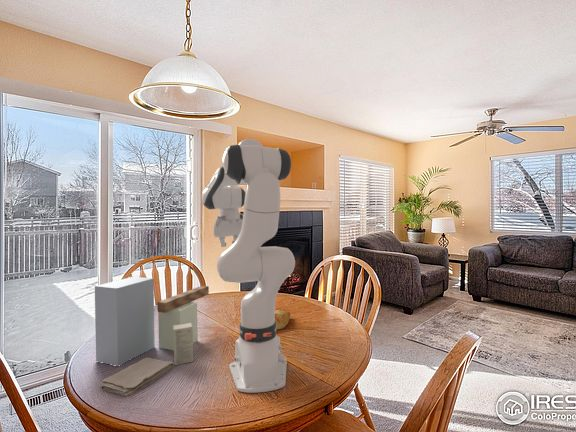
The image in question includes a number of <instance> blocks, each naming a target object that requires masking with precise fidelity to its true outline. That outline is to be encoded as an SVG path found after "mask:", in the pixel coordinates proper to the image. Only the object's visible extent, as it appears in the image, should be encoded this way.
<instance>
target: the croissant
mask: <svg viewBox="0 0 576 432" xmlns="http://www.w3.org/2000/svg"><path fill="white" fill-rule="evenodd" d="M290 318H291V313H290V312H289V311H285V310H284V309H275V321H276V327H277V329H276V331H278V330H281V329H284V328H286V326H287V325H288V324H289V321H290Z"/></svg>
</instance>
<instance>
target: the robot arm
mask: <svg viewBox="0 0 576 432" xmlns="http://www.w3.org/2000/svg"><path fill="white" fill-rule="evenodd" d="M221 164H222V165H221V166H220V167H219V168H217V169H216V171H215V173H214V174H213V176H212V177H211V178H210V181H209V182H208V183H207V186H205V187H204V188H203V190H202V193H201V202H202V205H203V206H204V207H205V208H207V210H218V214H219V215H218V216H217V217H216V218H215V221H214V226H213V237H214V238H219V243H220V247H221V248H225V247H227V242H226V240H225V239H226V237H232V238H233V239H232V241H231V245H230V246H229V247H228V248H226V249H225V250H224V251H222V252H221V254H220V255H219V257H218V258H217V263H216V268H217V273H218V275H219V277H220V278H221V280H222V281H224V282H229V283H238V284H239V283H250V282H257V283H256V285H255V287H254V288H252V290H250V291H249V292H247V293H245V295H244V296H243V297H242V299H241V302H240V323H239V328H238V329H239V330H238V331H239V337H238V338H237V339H236V340H235V346H234V347H235V351H234V352H235V353H234V354H235V357H234V361H232V362H231V363H229V366H228V369H229V371H230V374H231V376H232V379H233V382H234V385H235V387H236V390H237V391H238V392H241V393H247V394H248V393H249V394H250V393H251V394H253V393H266V392H271V391H276V390H279V389H281V388H284V387H286V382H287V381H286V380H287V368H288V367H287V366H288V365H287V364H288V363H287V361H288V360H287V358H285V354H284V353H281V351H282V350H283V345H282V344H281V337H280V336H279V335H277V330H276V329H277V327H276V321H275V310H276V299H277V295H278V292H279V290H280V289H281V286H282V284H283V283H284V282H285V280H287V279H288V277H289V276H291V275H292V273H293V272H294V269H295V267H296V260H295V259H296V258H295V256H294V254H293V252H292V250H290V249H289V248H288V247H285V246H284V247H282V246H276V245H274V246H263V245H264V244H265V243H266V242H268V241H269V240H271V239H272V238H274V237H275V236H276V235H277V232H278V229H279V221H280V210H281V209H280V208H281V185H280V181H283V180H285V179H287V178H288V176H289V175H290V172H291V170H292V169H291V168H292V159H291V156H290V154H289V152H288V151H287V150H285V149H282V148H279V147H274V148H273V147H269V146H263V145H262V143H261V142H260V141H259V140H257V139H255V138H244V139H243V140H241V141H240V142H239V143H238V144H233V145H229V146H227V147H226V148H225V150H224V152H223V155H222V163H221ZM241 185H245V190H244V189H243V187H240V186H241ZM242 207H243V213H241V212H239V210H240V208H242Z"/></svg>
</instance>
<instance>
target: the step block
mask: <svg viewBox="0 0 576 432" xmlns="http://www.w3.org/2000/svg"><path fill="white" fill-rule="evenodd" d="M157 314H158V317H157V319H158V320H157V321H158V324H157V325H158V348H159V349H165V350H169V351H174V338H173V325H178V324H185V323H192V332H193V344H195V343H197V342H198V335H199V334H198V328H199V327H198V302H194V301H192V302H189V303H187V304H185V305H182V306H180V307H178V308H175V309H173V310H171V311H168V312H166V313H163V312H158V311H157Z"/></svg>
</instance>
